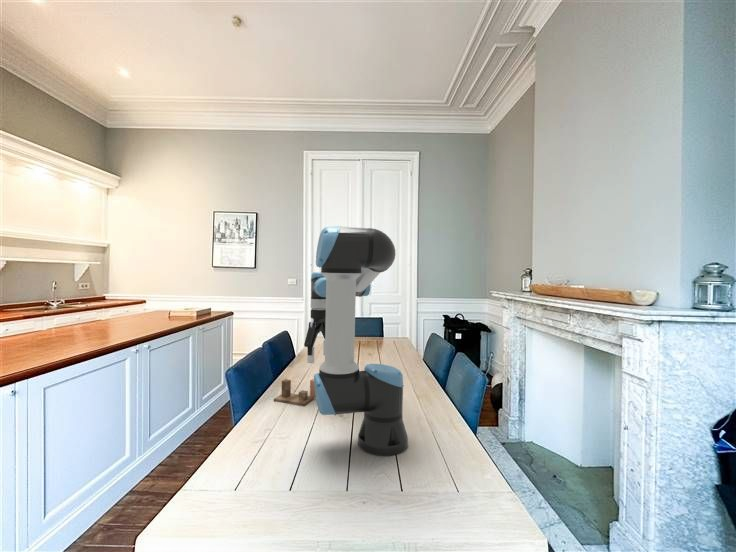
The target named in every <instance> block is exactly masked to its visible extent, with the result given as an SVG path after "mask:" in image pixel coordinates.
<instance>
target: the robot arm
mask: <svg viewBox="0 0 736 552" xmlns="http://www.w3.org/2000/svg"><path fill="white" fill-rule="evenodd" d="M317 240H318V242H317V246H316V251H315V252H316V253H315V254H316V255H315V265H316V267H317V268H320V270H321V271H317V272H316V271H314V272H312V273H311V277H310V287H311V288H310V308H311V310H310V318H311V319H313V321H309V322H308V327H307V333H306V336H305V338H304V339H305V341H304V345H303V346H304V347H306V348H307V357H306V358H307V359H306V360H307V364H315V343H316V341H317V337H318V335H319V334H320V332H321V335H322V337H323V339H324V340H323V346H322V347H323V348H322V349H323V351H322V353H323V355H322V356H324V361H323V362H322V363H321V364H320V365H319V367H318V369H319V371H318V372H316V373H315V374H313V379H314V388H315V395H316V397H315V401H316V405H317V409H318V412H319V414H320V415H323V416H337V415H344V414H345V415H346V414H348V415H349V414H356V413H357V414H358V413H363V419H362V422H361V425H360V428H359V431H358V435H357V445H358V447H359V448H360V449H361V450H362V451H364V452H366V453H368V454H371V455H375V456H383V457H384V456H385V457H387V456H388V457H389V456H394V455H399V454H401V453H403V452H404V451H406V450H407V448H408V446H409V437H408V432H407V429H406V425H405V423H404V419H403V407H404V406H403V404H404V403H403V402H404V401H403V400H404V377H403V373H402V371H401V370H400V369H398V368H397V367H394V366H392V365H387V364H382V363H381V364H380V363H368V364H365V365H364V368H363V370H360V366H359V365H358V364H357V362H355V348H356V347H355V342H356V341H355V340H356V339H355V337H356V328H355V327H356V297H358V298H360V297H367V296H369V295H370V293H371V287H372V286H371V284H372V282H373V281H375V279H376V278H377V277H378V276H379V275H380V274H382V273H383V272H384V273H385V272H386V271H388V270H389V269H390V267H391V266H392V265H393V264H394V261H395V259H396V249H395V245H394V242H393V241H392V239H391V238H390V237H389V236H388V235H387V234H386V233H385V232H384V231H381V230H379V229H377V228H373V227H371V228H370V227H369V228H366V227H364V228H363V227H350V226H338V225H337V226H326V227H325V226H324V228H322V230H321V232H320V233H319V237H318V239H317Z"/></svg>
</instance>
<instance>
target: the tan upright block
mask: <svg viewBox="0 0 736 552" xmlns="http://www.w3.org/2000/svg"><path fill="white" fill-rule="evenodd" d="M309 396H312V397H315V398H316V395H315V388H314V378H312V379H310V380H309Z"/></svg>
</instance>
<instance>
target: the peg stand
mask: <svg viewBox="0 0 736 552" xmlns="http://www.w3.org/2000/svg"><path fill="white" fill-rule="evenodd" d="M291 381H292V380H291V379H287V378H285V379H283V380H281V394H280V395H277V396H276V397H274V398H273V402H277V403H284V404H288V405H294V406H298V407H299V406H302V407H306V406H308V405H309V404H310V403H311V402H313V401H316V397H312V396H310V395H309V393H308V390H303V389H302V390H299V391H298V393H293V392H291V387H292V384H291V383H292V382H291Z"/></svg>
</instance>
